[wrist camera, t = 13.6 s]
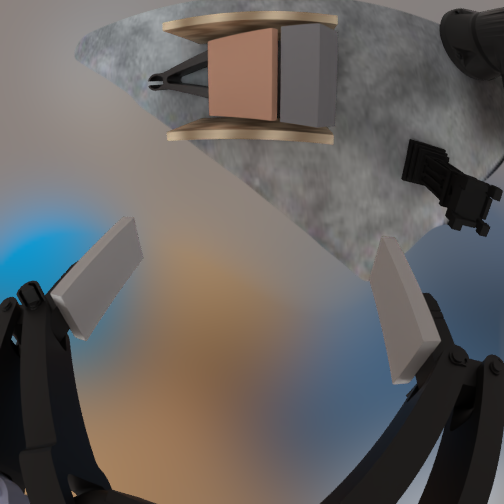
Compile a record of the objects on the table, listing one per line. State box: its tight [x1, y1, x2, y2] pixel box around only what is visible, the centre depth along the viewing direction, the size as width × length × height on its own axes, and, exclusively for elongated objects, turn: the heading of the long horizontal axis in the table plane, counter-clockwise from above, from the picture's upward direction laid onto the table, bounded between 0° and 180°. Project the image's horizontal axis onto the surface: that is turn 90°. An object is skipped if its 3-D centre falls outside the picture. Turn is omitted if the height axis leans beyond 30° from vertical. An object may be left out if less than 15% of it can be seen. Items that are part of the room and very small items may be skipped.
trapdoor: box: [208, 23, 338, 128], centre depth 29 cm, size 18×12×4 cm
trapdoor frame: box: [163, 11, 338, 145], centre depth 33 cm, size 21×17×15 cm
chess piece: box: [401, 139, 503, 237], centre depth 34 cm, size 8×8×20 cm
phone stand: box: [148, 50, 209, 98], centre depth 38 cm, size 9×6×12 cm
